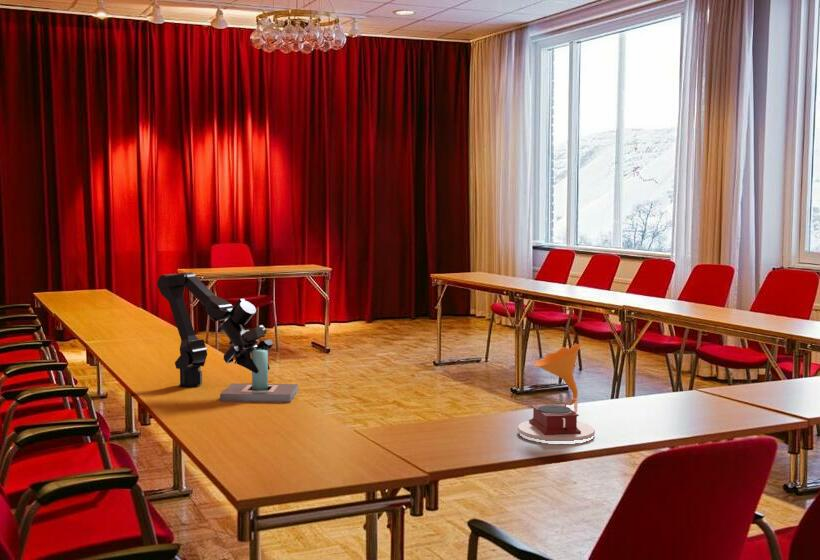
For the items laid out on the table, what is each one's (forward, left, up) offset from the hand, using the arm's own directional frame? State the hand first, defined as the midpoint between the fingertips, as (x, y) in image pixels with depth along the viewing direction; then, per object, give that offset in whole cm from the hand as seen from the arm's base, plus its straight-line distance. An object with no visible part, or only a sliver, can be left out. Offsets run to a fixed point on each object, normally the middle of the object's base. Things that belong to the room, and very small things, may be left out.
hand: (263, 371), depth 289 cm
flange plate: (-1, +1, -8) cm, 8 cm away
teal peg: (-1, +1, -7) cm, 7 cm away
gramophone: (+88, -42, -9) cm, 98 cm away
